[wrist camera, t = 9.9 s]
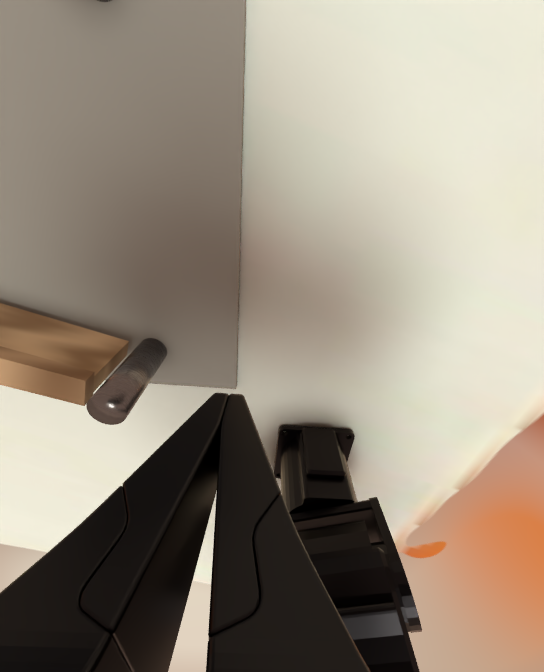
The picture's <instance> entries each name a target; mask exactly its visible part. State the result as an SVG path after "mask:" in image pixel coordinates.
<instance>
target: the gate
mask: <svg viewBox="0 0 544 672" xmlns="http://www.w3.org/2000/svg"><path fill="white" fill-rule="evenodd" d="M128 344H129V341H127V340H123V339H120V338H116V337H113V336H110V335H106V334H103V333H100V332H96V331H93V330H90V329H86V328H83V327H79V326H76V325H73V324H69V323H66V322H63V321H59V320H56V319H52V318H49V317H46V316H42V315H39V314H36V313H32V312H29V311H25V310H22V309H19V308H15V307H12V306H9V305H5V304H2V303H0V385H4V386H8V387H12V388H16V389H20V390H24V391H28V392H31V393H35V394H39V395H43V396H47V397H51V398H55V399H59V400H63V401H67V402H71V403H75V404H79V405H83V406H85V404H86V403H87V402H88V400H89V399H90V398H91V397H92V396H93V392H94V391H95V390H96V389H97V388H98V386H99V385H100V384H101V383H102V382H103V381H104V380H105V379H106V378H107V377H108V376H109V374H110V373H111V372H112V371H113V370H114V369H115V368H116V367H117V366H118V365H119V363H120V362H121V361H122V360H123V359H124V358H125V357H126V356H127V351H128Z"/></svg>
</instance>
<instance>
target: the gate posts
mask: <svg viewBox="0 0 544 672" xmlns="http://www.w3.org/2000/svg"><path fill="white" fill-rule="evenodd" d="M97 1H100V2H109V1H112V0H97ZM166 356H167V348H166V346H165V345H164V344H163V343H162V342H161V341H159V340H157V339H154V338H147V339H144V340H143V341H141V343H140V344H139V345H138V346H137V347H136V348H135V349H134V350H133V351H132V353H131V354H130V355H129V356H128V357H127V358H126V359H125V360H124V361H123V363H122V364H121V365H120V366H119V367H118V368H117V369H116V370H115V371H114V373H113V374H112V375H111V376H110V377H109V378H108V379H107V380H106V381H105V383H104V384H103V385H102V386H101V387H100V388H99V389H98V390H97V391H96V393H95V394H94V395H93V396H92V397H91V398H90V399H89V400H88V402H87V410H88V412H89V414H90V415H91V416H92V417H93V418H94V419H96V420H97V421H99V422H102V423H105V424H110V425H114V424H119V423H121V422H123V421H124V420H125V419H126V417H127V415H128V414H129V412H130V411H131V409H132V408H133V406H134V405H135V403H136V402H137V400H138V399H139V397H140V396H141V394H142V393H143V391H144V390H145V388H146V387H147V385H148V384H149V382H150V381H151V379H152V378H153V376H154V375H155V373H156V372H157V370H158V369H159V367H160V366H161V364H162V362H163V361H164V359H165V358H166Z"/></svg>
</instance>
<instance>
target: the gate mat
mask: <svg viewBox="0 0 544 672" xmlns="http://www.w3.org/2000/svg"><path fill="white" fill-rule="evenodd" d="M245 20H246V0H112V1H109V2H100V1H97V0H0V303H2V304H5V305H9V306H12V307H15V308H19V309H22V310H25V311H29V312H32V313H36V314H39V315H42V316H46V317H49V318H52V319H56V320H59V321H63V322H66V323H69V324H73V325H76V326H79V327H83V328H86V329H90V330H93V331H96V332H100V333H103V334H106V335H110V336H113V337H116V338H120V339H123V340H127V341H129V344H128V351H127V356H126V357H125V358H124V359H123V360H122V361H121V362H120V363H119V365H118V366H117V367H116V368H115V369H114V370H113V371H112V372H111V373H110V374H109V376H108V377H107V378H106V379H105V380H107V379H108V378H109V377H110V376H111V375H112V374H113V373H114V371H115V370H116V369H117V368H118V367H119V366H120V365H121V364H122V363H123V361H124V360H125V359H126V358H127V357H128V356H129V355H130V354H131V353H132V351H133V350H134V349H135V348H136V347H137V346H138V345H139V344H140V343H141V341H143V340H144V339H147V338H154V339H157V340H159V341H161V342H162V343H163V344H164V345H165V346H166V348H167V356H166V358H165V359H164V361H163V362H162V364H161V366H160V367H159V369H158V370H157V372H156V373H155V375H154V376H153V378H152V379H151V381H150V382H149V383H154V384H169V385H184V386H199V387H215V388H230V389H236V386H237V349H238V307H239V266H240V225H241V184H242V143H243V102H244V61H245Z"/></svg>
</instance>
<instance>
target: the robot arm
mask: <svg viewBox="0 0 544 672" xmlns="http://www.w3.org/2000/svg"><path fill="white" fill-rule="evenodd" d="M283 431H286V432H283ZM347 435H349V436H347ZM354 437H355V436H354V433H353V431H352V430H349V429H334V428H318V427H302V426H281V427H280V428H279V432H278V440H277V448H276V456H275V464H274V473H273V470H272V468H271V465H270V462H269V460H268V457H267V455H266V452H265V449H264V447H263V444H262V442H261V439H260V436H259V434H258V431H257V429H256V426H255V423H254V421H253V418H252V416H251V413H250V410H249V408H248V405H247V402H246V400H245V397H244V396H243V395H241V394H230V395H228V394H226V393H215V394H213V395H212V396H211V397H210V398H209V399H208V400H207V401H206V402H205V403H204V404H203V405H202V406H201V407H200V408H199V409H198V410H197V411H196V412H195V413H194V414H193V415H192V416H191V417H190V418H189V419H188V420H187V421H186V422H185V423H184V424H183V425H182V426H181V427H180V428H179V429H178V430H177V431H176V432H175V433H174V434H173V435H172V436H171V437H170V438H169V439H167V440H166V441H165V442H164V443H163V444H162V445H161V446H160V447H159V448H158V449H157V450H156V451H155V452H154V453H153V454H152V455H151V456H150V457H149V458H148V459H147V460H146V461H145V462H144V463H143V464H142V465H141V466H140V467H139V468H138V469H137V470H136V471H135V472H134V473H133V474H132V475H131V476H130V477H129V478H128V479H127V480H126V481H125V482H124V483H123V487H122V486H120V487H119V488H118V489H117V490H116V491H115V492H114V493H113V494H112V495H110V496H109V497H108V498H107V499H106V500H105V501H104V502H103V503H102V504H101V505H100V506H99V507H98V508H97V509H96V510H95V511H94V512H93V513H92V514H91V515H90V516H88V517H87V518H86V519H85V520H84V521H83V522H82V523H81V524H80V525H79V526H78V527H77V528H75V529H74V530H73V531H72V532H71V533H70V534H69V535H67V536H66V537H65V538H64V539H63V540H62V541H61V542H59V543H58V544H57V545H56V546H55V547H54V548H53V549H51V550H50V551H49V552H48V553H47V554H46V555H44V556H43V557H42V558H41V559H40V560H39V561H37V562H36V563H35V564H34V565H33V566H31V567H30V568H29V569H28V570H27V571H25V572H24V573H23V574H22V575H21V576H20V577H18V578H17V579H16V580H15V581H14V582H12V583H11V584H10V585H9V586H8V587H7V588H5V589H4V590H3V591H2V592H1V593H0V672H168V669H169V666H170V661H171V658H172V654H173V650H174V647H175V643H176V640H177V636H178V632H179V628H180V625H181V621H182V617H183V613H184V610H185V606H186V602H187V598H188V595H189V591H190V587H191V583H192V580H193V576H194V572H195V569H196V565H197V561H198V557H199V554H200V550H201V546H202V542H203V539H204V535H205V531H206V528H207V524H208V520H209V516H210V513H211V509H212V505H213V501H214V498H215V494H216V490H217V497H216V514H215V531H214V548H213V565H212V582H211V599H210V600H211V601H210V617H209V618H210V619H209V633H208V635H209V641H208V650H207V666H206V672H419V669H418V666H417V662H416V658H415V655H414V651H413V648H412V645H411V642H410V638H409V634H408V632H411V633H412V632H421V631H422V628H421V624H420V620H419V616H418V613H417V609H416V606H415V603H414V600H413V596H412V593H411V590H410V587H409V583H408V581H407V577H406V575H405V571H404V569H403V566H402V563H401V560H400V558H399V555H398V552H397V549H396V546H395V544H394V541H393V539H392V536H391V533H390V531H389V528H388V525H387V523H386V520H385V517H384V515H383V512H382V509H381V507H380V504H379V501H378V499H377V497H375V498H369V500H366V501H361V502H357V498H356V494H355V491H354V487H353V483H352V480H351V476H350V473H349V469H348V465H347V460H348V457H349V454H350V450H351V447H352V444H353V441H354ZM276 478H280V479H281V491H280V488H279V486H278V483H277V481H276ZM281 493H282V495H281Z"/></svg>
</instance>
